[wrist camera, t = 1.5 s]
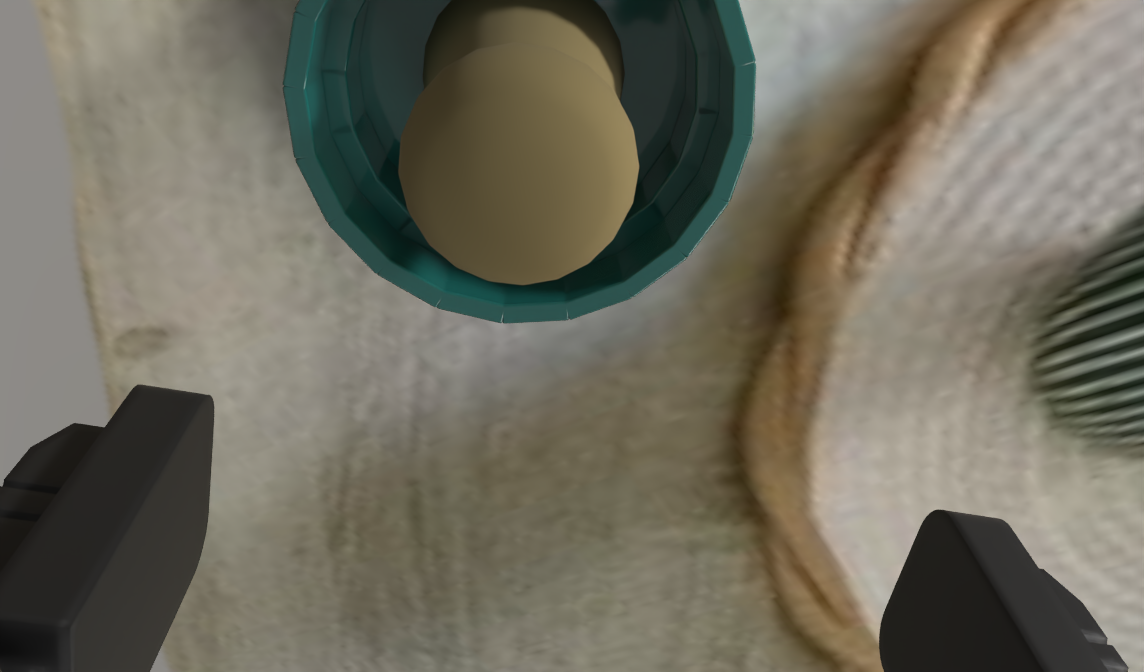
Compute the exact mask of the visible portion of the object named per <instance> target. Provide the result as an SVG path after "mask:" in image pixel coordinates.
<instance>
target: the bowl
mask: <svg viewBox="0 0 1144 672" xmlns="http://www.w3.org/2000/svg"><path fill="white" fill-rule="evenodd" d="M450 1H451V0H299V2H298V4H297V6H296V7H295V12H294V13H293V20H292V26H291V33H290V39H289V46H288V52H287V59H286V65H285V71H284V78H283V85H284V86H283V93H284V99H285V105H286V111H287V117H288V123H289V129H290V135H291V141H292V147H293V153H294V157H295V158H296V163H297V165H298V167H299V169H300V171H301V173H302V175H303V177H304V179H305V180H306V182H307V184H308V186H309V188H310V190H311V192H312V194H313V196H314V198H315V200H316V202H317V204H318V206H319V208H320V210H321V212H322V214H323V216H324V218H325V220H326V221H327V222H329V223H328V225H329V226H330V227H331V228H332V229H333V230H334V231H335V232H336V233H337V234H338V235H339V236H340V237H341V238H342V239H343V240H344V241H345V242H346V243H347V245H348V246H349V247H350V248H351V249H352V250H353V251H354V252H355V253H356V254H357V255H358V256H359V257H360V258H361V259H362V260H363V261H364V262H365V263H366V264H367V265H368V266H369V267H370V268H371V269H372V270H373V271H374V272H375V273H377V274H378V275H379V276H381V277H382V278H384V279H386V280H388V281H389V282H391V283H393V284H395V285H396V286H398V287H400V288H402V289H404V290H405V291H407V292H409V293H411V294H412V295H414V296H416V297H418V298H419V299H421V300H423V301H425V302H426V303H428V304H430V305H432V306H434V307H437V308H439V309H443V310H447V311H451V312H455V313H460V314H464V315H468V316H472V317H477V318H481V319H485V320H489V321H494V322H498V323H502V322H503V323H522V322H542V321H561V320H568V319H574V318H577V317H580V316H583V315H585V314H588V313H591V312H594V311H597V310H600V309H602V308H605V307H608V306H611V305H614V304H617V303H620V302H622V301H625V300H628V299H631V298H632V297H635V296H636V295H637V294H639V293H640V292H642V291H643V290H644V289H646V288H647V287H648V286H650V285H651V284H653V283H654V282H655V281H657V280H658V279H659V278H661V277H662V276H664V275H665V274H666V273H668V272H669V271H670V270H672V269H673V268H675V267H676V266H677V265H679V264H680V263H682V262H683V261H684V260H686V258H687V257H688V256H690V254H691V253H692V252H693V250H694V249H695V248H696V246H697V245H698V244H699V242H700V241H701V240H702V238H703V237H704V236H705V234H706V233H707V232H708V230H709V229H710V228H711V227H712V225H713V224H714V223H715V221H716V220H717V219H718V217H719V216H720V215H721V213H722V212H723V211H724V209H725V208H726V207H727V205H728V202H729V201H730V200H731V197H732V194H733V192H734V189H735V186H736V183H737V180H738V178H739V175H740V172H741V169H742V167H743V164H744V161H745V158H746V155H747V153H748V150H749V147H750V144H751V142H752V139H753V136H752V135H753V133H754V111H755V83H756V63H755V56H754V53H753V49H752V46H751V42H750V39H749V35H748V32H747V28H746V25H745V21H744V18H743V14H742V11H741V7H740V4H739V1H738V0H594V1H595V2H596V3H597V4H598V5H599V6H600V7H601V8H602V9H603V10H604V11H605V12H606V14H607V16H608V18H609V20H610V22H611V24H612V26H613V28H614V30H615V32H616V34H617V36H618V38H619V40H620V44H621V51H622V57H623V64H624V71H625V76H624V82H623V88H622V95H621V101H620V103H621V105H622V107H623V109H624V111H625V113H626V115H627V117H628V119H629V120H630V122H631V125H632V127H633V130H634V135H635V142H636V148H637V155H638V161H639V172H638V178H637V183H636V189H635V195H634V201H633V204H632V206H631V208H630V209H629V211H628V213H627V215H626V217H625V219H624V221H623V223H622V224H621V226H620V228H619V230H618V232H617V234H616V236H615V237H614V239H613V240H612V241H611V242H610V243H609V244H608V245H607V246H606V247H605V248H604V249H603V250H602V251H601V252H600V253H599V254H598V255H597V256H596V257H595V258H594V259H593V260H592V261H591V262H590V263H589V264H587V265H585V266H583V267H581V268H579V269H577V270H575V271H573V272H571V273H569V274H567V275H565V276H563V277H561V278H559V279H556V280H550V281H545V282H539V283H533V284H527V285H517V284H508V283H500V282H491V281H487V280H484V279H482V278H480V277H477V276H475V275H473V274H471V273H468V272H466V271H464V270H461V269H459V268H457V267H455V266H454V265H453V264H452V263H450V262H449V261H448V260H447V259H446V258H444V257H443V256H442V255H441V254H440V253H439V252H437V251H436V250H435V249H434V248H433V247H431V246H430V245H429V244H428V242H427V240H426V239H425V237H424V236H423V234H422V233H421V231H420V229H419V228H418V226H417V225H416V223H415V222H414V220H413V218H412V217H411V215H410V213H409V211H408V209H407V205H406V201H405V197H404V193H403V189H402V186H401V182H400V178H399V174H398V170H399V156H400V142H401V135H402V132H403V130H404V128H405V125H406V123H407V121H408V118H409V116H410V114H411V111H412V109H413V106H414V104H415V102H416V100H417V98H418V96H419V95H420V94H421V92H422V91H423V90H424V84H423V67H424V54H425V45H426V43H427V40H428V38H429V36H430V33H431V31H432V28H433V26H434V24H435V21H436V19H437V16H438V15H439V14H440V13H441V12H442V11H443V9H444V8H445V7H446V6H447V5H448V4H449V3H450Z"/></svg>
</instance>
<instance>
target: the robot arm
mask: <svg viewBox="0 0 1144 672" xmlns="http://www.w3.org/2000/svg"><path fill="white" fill-rule="evenodd" d="M213 428H214V402H213V399H212V397H211V396H210V395H205V394H199V393H192V392H186V391H179V390H173V389H166V388H160V387H153V386H147V385H137V386H135V387H134V388H133V389H132V390H131V392H130V393H129V395H128V396H127V397H126V399H125V400H124V401H123V403H122V404H121V406H120V407H119V408H118V410H117V411H116V413H115V414H114V415H113V417H112V418H111V419H110V421H109V422H108V424H107V425H106V426H105V427H98V426H91V425H85V424H77V423H74V424H72V425H70V426H68V427H66V428H64V429H63V430H61V431H59V432H57V433H55V434H54V435H52V436H50V437H48V438H47V439H45V440H43V441H41V442H39V443H37V444H36V445H34V446H32V447H30V449H29V450H28V451H27V452H26V454H25V455H24V456H23V457H22V458H21V460H20V461H19V462H18V463H17V464H16V466H15V467H14V468H13V469H12V471H11V472H10V473H9V474H8V475H7V477H6V478H5V479H4V484H3V486H2V487H1V486H0V672H150V670H151V668H152V665H153V663H154V661H155V659H156V657H157V655H158V652H159V650H160V648H161V646H162V644H163V642H164V639H165V637H166V635H167V633H168V631H169V628H170V626H171V624H172V622H173V620H174V618H175V615H176V613H177V611H178V609H179V607H180V604H181V602H182V600H183V598H184V596H185V594H186V591H187V589H188V587H189V585H190V583H191V580H192V578H193V576H194V574H195V571H196V569H197V566H198V563H199V560H200V556H201V553H202V549H203V545H204V540H205V535H206V529H207V523H208V513H209V496H210V479H211V462H212V445H213ZM1107 639H1108V638H1107V637H1106V635H1105V634H1104V633H1103V631H1102V630H1101V628H1100V627H1099V626H1098V624H1097V623H1096V621H1095V620H1094V618H1093V617H1092V616H1091V614H1090V613H1089V611H1088V610H1087V609H1086V607H1085V606H1084V604H1083V603H1082V602H1081V601H1080V600H1079V599H1077V598H1076V597H1075V596H1074V595H1073V594H1072V593H1071V592H1069V591H1068V590H1067V589H1066V588H1065V587H1064V586H1062V585H1061V584H1060V583H1059V582H1058V581H1057V580H1055V579H1054V578H1053V577H1052V576H1051V575H1050V574H1048V573H1047V572H1046V571H1045V570H1044V569H1039V568H1038V567H1037V565H1036V564H1035V562H1034V561H1033V559H1032V558H1031V556H1030V555H1029V553H1028V552H1027V550H1026V549H1025V548H1024V546H1023V545H1022V543H1021V542H1020V540H1019V539H1018V537H1017V536H1016V534H1015V533H1014V531H1013V530H1012V528H1011V527H1010V526H1009V525H1008V524H1007V523H1006V522H1005V521H1004V520H1001V519H998V518H991V517H985V516H978V515H972V514H965V513H959V512H952V511H946V510H935V511H933V512H931V513H930V514H929V515H928V516H927V517H926V518H925V520H924V521H923V523H922V525H921V527H920V529H919V531H918V534H917V536H916V538H915V541H914V543H913V545H912V548H911V550H910V552H909V555H908V557H907V559H906V562H905V564H904V566H903V569H902V571H901V574H900V576H899V578H898V581H897V583H896V585H895V588H894V590H893V592H892V595H891V597H890V599H889V602H888V604H887V606H886V609H885V611H884V614H883V617H882V621H881V627H880V636H879V649H880V658H881V663H882V667H883V669H884V672H1128V666H1127V665H1126V664H1125V662H1124V661H1123V659H1122V658H1121V657H1120V655H1119V654H1118V652H1117V651H1116V650H1115V648H1114V647H1113V646H1112V645H1107Z"/></svg>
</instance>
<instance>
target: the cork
mask: <svg viewBox="0 0 1144 672" xmlns="http://www.w3.org/2000/svg"><path fill="white" fill-rule="evenodd" d="M624 76H625V71H624V64H623V57H622V51H621V44H620V40H619V38H618V36H617V34H616V32H615V30H614V28H613V26H612V24H611V22H610V20H609V18H608V16H607V14H606V12H605V11H604V10H603V9H602V8H601V7H600V6H599V5H598V4H597V3H596V2H595V1H594V0H451V1H450V3H449V4H448V5H447V6H446V7H445V8H444V9H443V11H442V12H441V13H440V14H439V15H438V16H437V19H436V21H435V24H434V26H433V28H432V31H431V33H430V36H429V38H428V40H427V43H426V45H425V54H424V67H423V84H424V90H423V91H422V92H421V94H420V95H419V96H418V98H417V100H416V102H415V104H414V106H413V109H412V111H411V114H410V116H409V118H408V121H407V123H406V125H405V128H404V130H403V132H402V135H401V142H400V156H399V170H398V174H399V178H400V182H401V186H402V189H403V193H404V197H405V201H406V205H407V209H408V211H409V213H410V215H411V217H412V218H413V220H414V222H415V223H416V225H417V226H418V228H419V229H420V231H421V233H422V234H423V236H424V237H425V239H426V240H427V242H428V244H429V245H430V246H431V247H433V248H434V249H435V250H436V251H437V252H439V253H440V254H441V255H442V256H443V257H444V258H446V259H447V260H448V261H449V262H450V263H452V264H453V265H454V266H455V267H457V268H459V269H461V270H464V271H466V272H468V273H471V274H473V275H475V276H477V277H480V278H482V279H484V280H487V281H491V282H500V283H508V284H517V285H527V284H533V283H539V282H545V281H550V280H556V279H559V278H561V277H563V276H565V275H567V274H569V273H571V272H573V271H575V270H577V269H579V268H581V267H583V266H585V265H587V264H589V263H590V262H591V261H592V260H593V259H594V258H595V257H596V256H597V255H598V254H599V253H600V252H601V251H602V250H603V249H604V248H605V247H606V246H607V245H608V244H609V243H610V242H611V241H612V240H613V239H614V237H615V236H616V234H617V232H618V230H619V228H620V226H621V224H622V223H623V221H624V219H625V217H626V215H627V213H628V211H629V209H630V208H631V206H632V204H633V201H634V195H635V189H636V183H637V178H638V172H639V161H638V155H637V148H636V142H635V135H634V130H633V127H632V125H631V122H630V120H629V119H628V117H627V115H626V113H625V111H624V109H623V107H622V105H621V103H620V101H621V95H622V88H623V82H624Z"/></svg>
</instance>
